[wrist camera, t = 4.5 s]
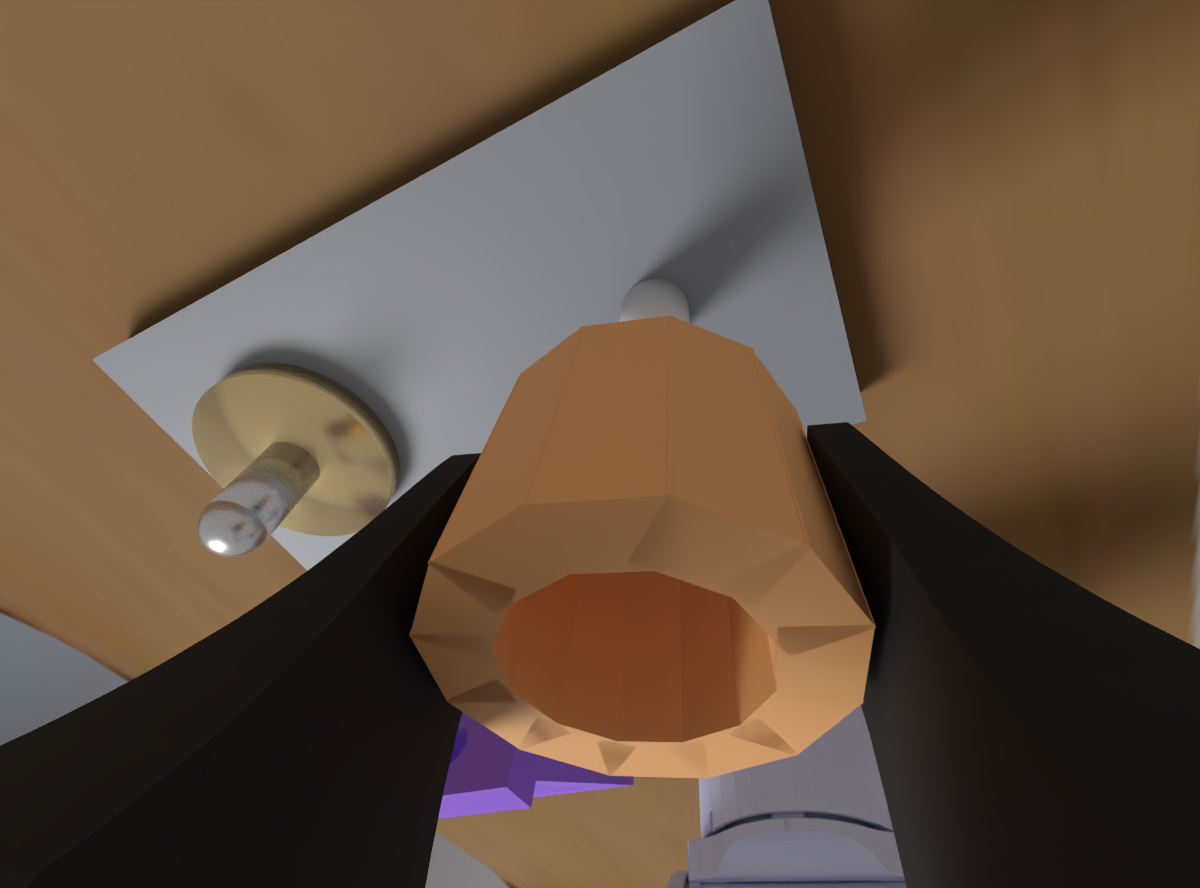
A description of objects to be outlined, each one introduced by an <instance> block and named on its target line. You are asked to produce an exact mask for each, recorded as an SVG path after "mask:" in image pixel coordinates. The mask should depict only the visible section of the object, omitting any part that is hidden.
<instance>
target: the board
mask: <svg viewBox="0 0 1200 888" xmlns="http://www.w3.org/2000/svg"><path fill="white" fill-rule="evenodd" d="M668 315H672V316H673V317H675V318H678V319H680V320H683V321H685V322H688V323H690V324H693V325H695V326H698V327H700V328H703V329H705V330H708V331H710V332H713V333H715V334H718V335H720V336H723V337H725V338H728V339H730V340H733V341H735V342H738V343H740V344H743V345H746V346H748V347H751V348H753V350H754V352H755V353H756V355H757V356H758V358H759V359H760V360H761V362H762V363H763V365H764V366H765V367H766V369H767V370H768V371H769V373H770V374H771V376H772V377H773V378H774V380H775V381H776V383H777V384H778V385H779V387H780V388H781V389H782V391H783V392H784V394H785V395H786V396H787V398H788V399H789V401H790V402H791V403H792V405H793V406H794V407H795V408H796V410H797V412H798V415H799V418H800V421H801V423H802V426H803V429H804V431H805V434H806V437H807V425H819V424H831V423H842V422H848V423H849V424H851V425H853V424H856V423H859V422H863V421H866V416H865V412H864V408H863V403H862V399H861V395H860V391H859V386H858V382H857V378H856V373H855V369H854V365H853V361H852V356H851V352H850V348H849V343H848V339H847V335H846V331H845V326H844V322H843V318H842V313H841V309H840V305H839V301H838V296H837V292H836V288H835V284H834V279H833V275H832V271H831V266H830V262H829V258H828V254H827V249H826V245H825V241H824V236H823V232H822V228H821V224H820V219H819V215H818V211H817V207H816V202H815V198H814V194H813V189H812V185H811V181H810V177H809V172H808V168H807V164H806V159H805V155H804V151H803V147H802V142H801V138H800V134H799V130H798V125H797V121H796V117H795V112H794V108H793V104H792V100H791V95H790V91H789V87H788V82H787V78H786V74H785V70H784V65H783V61H782V57H781V53H780V48H779V44H778V40H777V35H776V31H775V27H774V23H773V18H772V14H771V10H770V5H769V1H768V0H735V1H733V2H731V3H729V4H727V5H726V6H724V7H722V8H720V9H718V10H717V11H715V12H713V13H711V14H709V15H708V16H706V17H704V18H702V19H701V20H699V21H697V22H695V23H693V24H692V25H690V26H688V27H686V28H684V29H683V30H681V31H679V32H677V33H675V34H674V35H672V36H670V37H668V38H667V39H665V40H663V41H661V42H659V43H658V44H656V45H654V46H652V47H650V48H649V49H647V50H645V51H643V52H641V53H640V54H638V55H636V56H634V57H633V58H631V59H629V60H627V61H625V62H624V63H622V64H620V65H618V66H616V67H615V68H613V69H611V70H609V71H608V72H606V73H604V74H602V75H600V76H599V77H597V78H595V79H593V80H591V81H590V82H588V83H586V84H584V85H582V86H581V87H579V88H577V89H575V90H574V91H572V92H570V93H568V94H566V95H565V96H563V97H561V98H559V99H557V100H556V101H554V102H552V103H550V104H548V105H547V106H545V107H543V108H541V109H540V110H538V111H536V112H534V113H532V114H531V115H529V116H527V117H525V118H523V119H522V120H520V121H518V122H516V123H514V124H513V125H511V126H509V127H507V128H506V129H504V130H502V131H500V132H498V133H497V134H495V135H493V136H491V137H489V138H488V139H486V140H484V141H482V142H481V143H479V144H477V145H475V146H473V147H472V148H470V149H468V150H466V151H464V152H463V153H461V154H459V155H457V156H455V157H454V158H452V159H450V160H448V161H447V162H445V163H443V164H441V165H439V166H438V167H436V168H434V169H432V170H430V171H429V172H427V173H425V174H423V175H421V176H420V177H418V178H416V179H414V180H413V181H411V182H409V183H407V184H405V185H404V186H402V187H400V188H398V189H396V190H395V191H393V192H391V193H389V194H388V195H386V196H384V197H382V198H380V199H379V200H377V201H375V202H373V203H371V204H370V205H368V206H366V207H364V208H362V209H361V210H359V211H357V212H355V213H354V214H352V215H350V216H348V217H346V218H345V219H343V220H341V221H339V222H337V223H336V224H334V225H332V226H330V227H328V228H327V229H325V230H323V231H321V232H320V233H318V234H316V235H314V236H312V237H311V238H309V239H307V240H305V241H303V242H302V243H300V244H298V245H296V246H294V247H293V248H291V249H289V250H287V251H286V252H284V253H282V254H280V255H278V256H277V257H275V258H273V259H271V260H269V261H268V262H266V263H264V264H262V265H261V266H259V267H257V268H255V269H253V270H252V271H250V272H248V273H246V274H244V275H243V276H241V277H239V278H237V279H235V280H234V281H232V282H230V283H228V284H227V285H225V286H223V287H221V288H219V289H218V290H216V291H214V292H212V293H210V294H209V295H207V296H205V297H203V298H201V299H200V300H198V301H196V302H194V303H193V304H191V305H189V306H187V307H185V308H184V309H182V310H180V311H178V312H176V313H175V314H173V315H171V316H169V317H168V318H166V319H164V320H162V321H160V322H159V323H157V324H155V325H153V326H151V327H150V328H148V329H146V330H144V331H142V332H141V333H139V334H137V335H135V336H134V337H132V338H130V339H128V340H126V341H125V342H123V343H121V344H119V345H117V346H116V347H114V348H112V349H110V350H108V351H107V352H105V353H103V354H101V355H100V356H98V357H96V358H94V359H92V360H93V361H94V362H95V363H96V364H97V365H98V366H99V367H100V368H101V369H102V370H103V371H104V372H105V373H106V374H107V375H108V376H109V377H110V378H111V379H112V380H114V381H115V382H116V383H117V384H118V385H119V386H120V387H121V388H122V389H123V390H124V391H125V392H126V393H127V394H128V395H129V396H130V397H131V398H132V399H133V400H134V401H135V402H136V403H137V404H138V405H139V406H140V407H141V408H142V409H143V410H144V411H145V412H146V413H147V414H148V415H149V416H150V417H151V418H152V419H153V420H154V421H155V422H156V423H157V424H158V425H159V426H160V427H162V428H163V429H164V430H165V431H166V432H167V433H168V434H169V435H170V436H171V437H172V438H173V439H174V440H175V441H176V442H177V443H178V444H179V445H180V446H181V447H182V448H183V449H184V450H185V451H186V452H187V453H188V454H189V455H190V456H191V457H192V458H193V459H194V460H195V461H196V462H197V463H198V464H199V465H200V466H201V467H202V468H203V469H204V470H205V471H206V472H207V473H208V474H210V473H209V471H208V470H207V468H206V467H205V465H204V463H203V462H202V460H201V458H200V456H199V454H198V452H197V449H196V446H195V443H194V439H193V433H192V418H193V412H194V409H195V407H196V404H197V402H198V401H199V399H200V398H201V397H202V395H203V394H204V393H205V392H206V391H208V390H209V389H210V388H211V387H213V386H214V385H215V384H217V383H218V382H220V381H221V380H222V379H224V378H225V377H227V376H228V375H230V374H231V373H233V372H235V371H236V370H238V369H241V368H243V367H246V366H249V365H254V364H260V363H281V364H288V365H294V366H299V367H302V368H305V369H309V370H312V371H314V372H317V373H319V374H322V375H324V376H326V377H328V378H330V379H332V380H334V381H336V382H338V383H339V384H341V385H342V386H344V387H345V388H347V389H348V390H350V391H351V392H353V393H354V394H355V395H356V396H358V397H359V398H360V399H361V400H363V401H364V402H365V403H366V404H367V405H368V406H369V407H370V408H371V409H372V410H373V411H374V412H375V414H376V415H377V416H378V417H379V418H380V419H381V421H382V422H383V424H384V425H385V427H386V428H387V430H388V431H389V433H390V435H391V437H392V439H393V441H394V443H395V446H396V448H397V451H398V455H399V459H400V469H401V473H400V481H399V485H398V488H397V490H396V492H395V494H394V496H393V498H392V499H391V501H390V502H389V504H388V505H387V507H389V506H390V505H391V504H392V503H393V502H395V501H396V500H397V499H398V498H399V497H401V496H402V495H403V494H404V493H405V492H407V491H408V490H409V489H410V488H411V487H413V486H414V485H415V484H416V483H417V482H418V481H420V480H421V479H422V478H423V477H425V476H426V475H427V474H428V473H429V472H431V471H432V470H433V469H434V468H436V467H437V466H438V465H440V464H441V463H442V462H444V461H445V460H446V459H448V458H449V457H451V456H452V455H463V454H475V453H482V451H483V449H484V447H485V445H486V443H487V441H488V439H489V436H490V434H491V432H492V430H493V428H494V426H495V424H496V422H497V420H498V418H499V416H500V414H501V412H502V410H503V408H504V406H505V404H506V402H507V400H508V397H509V395H510V393H511V391H512V389H513V387H514V385H515V383H516V381H517V379H518V377H519V375H520V374H521V372H523V371H525V370H526V369H527V368H529V367H530V366H531V365H533V364H534V363H535V362H536V361H538V360H539V359H540V358H542V357H543V356H544V355H546V354H547V353H548V352H550V351H551V350H552V349H553V348H555V347H556V346H557V345H559V344H560V343H561V342H563V341H564V340H565V339H566V338H568V337H569V336H570V335H572V334H573V333H574V332H576V331H577V330H578V329H580V327H582V326H583V325H584V326H590V325H598V324H606V323H614V322H622V321H630V320H638V319H646V318H654V317H662V316H668ZM210 475H211V474H210ZM211 476H212V475H211ZM387 507H386V508H387ZM386 508H385V509H386ZM356 533H357V532H356ZM356 533H352V534H348V535H342V536H316V535H309V534H304V533H300V532H296V531H292V530H289V529H286V528H284V527H281V526H278V527H277V528H276V530H275V531H274V532H273V533H272V534H271V535H272V536H273V537H274V538H275V539H276V540H277V541H278V542H279V543H280V544H281V545H282V546H283V547H284V548H285V549H286V550H287V551H288V552H289V553H290V554H291V555H292V556H293V557H294V558H295V559H296V560H297V561H298V562H299V563H300V564H301V565H302V566H303V567H304V568H305V569H307V570H309V569H311V568H312V567H313V566H315V565H316V564H317V563H318V562H320V561H321V560H322V559H324V558H325V557H326V556H327V555H329V554H330V553H331V552H333V551H334V550H335V549H337V548H338V547H339V546H340V545H342V544H343V543H344V542H346V541H347V540H348V539H349V538H351V537H352V536H353V535H355V534H356Z"/></svg>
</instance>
